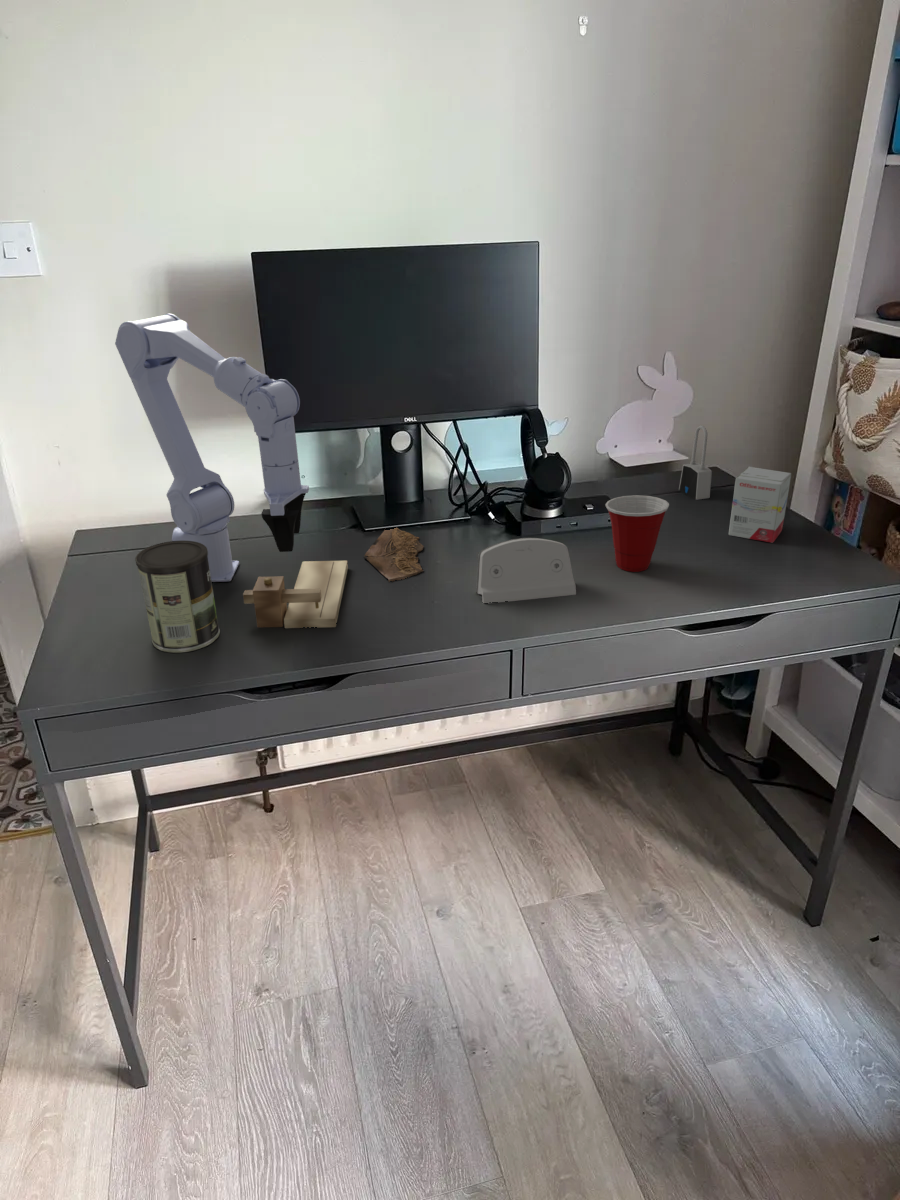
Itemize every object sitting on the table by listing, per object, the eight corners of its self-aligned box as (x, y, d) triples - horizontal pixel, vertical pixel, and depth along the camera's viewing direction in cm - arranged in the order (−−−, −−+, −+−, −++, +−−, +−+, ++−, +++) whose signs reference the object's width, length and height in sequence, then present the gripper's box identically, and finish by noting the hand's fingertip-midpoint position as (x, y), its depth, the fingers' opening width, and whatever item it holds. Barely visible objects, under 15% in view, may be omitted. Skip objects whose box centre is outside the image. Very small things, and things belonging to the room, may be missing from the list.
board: (284, 628, 136) (283, 619, 135) (303, 569, 156) (302, 561, 155) (335, 627, 136) (335, 618, 135) (347, 568, 156) (347, 560, 155)
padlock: (711, 497, 185) (720, 428, 178) (694, 500, 184) (703, 431, 177) (693, 487, 191) (701, 420, 184) (677, 490, 190) (684, 422, 183)
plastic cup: (630, 548, 162) (636, 487, 156) (675, 567, 154) (682, 504, 149) (588, 562, 156) (592, 500, 151) (632, 583, 148) (638, 518, 143)
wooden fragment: (423, 582, 151) (422, 576, 150) (360, 584, 150) (359, 578, 150) (423, 527, 174) (423, 522, 173) (368, 528, 173) (368, 523, 173)
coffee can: (207, 614, 140) (194, 534, 134) (229, 640, 133) (217, 557, 126) (143, 632, 135) (126, 549, 129) (162, 660, 128) (146, 574, 121)
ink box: (783, 529, 169) (793, 471, 164) (772, 544, 163) (782, 484, 157) (739, 521, 173) (747, 464, 168) (726, 535, 167) (735, 476, 161)
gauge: (244, 627, 136) (239, 586, 133) (250, 613, 141) (245, 573, 138) (320, 626, 136) (317, 585, 133) (324, 611, 141) (320, 571, 138)
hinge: (481, 604, 142) (476, 543, 141) (475, 600, 147) (471, 542, 146) (578, 594, 145) (575, 534, 144) (569, 591, 150) (566, 533, 148)
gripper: (299, 475, 129) (308, 558, 135) (311, 447, 142) (319, 524, 148) (251, 476, 129) (263, 560, 135) (268, 448, 142) (277, 525, 148)
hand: (289, 541), depth 141 cm, fingers open, 7 cm apart
